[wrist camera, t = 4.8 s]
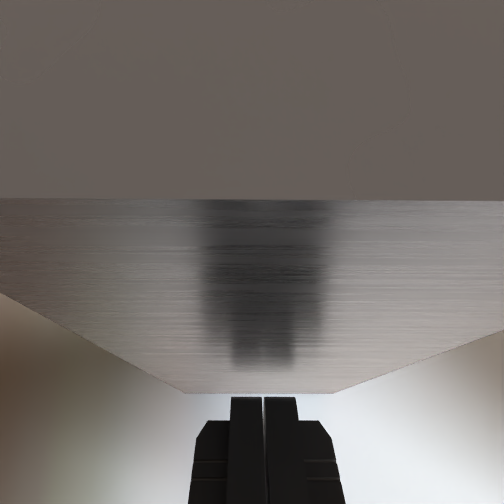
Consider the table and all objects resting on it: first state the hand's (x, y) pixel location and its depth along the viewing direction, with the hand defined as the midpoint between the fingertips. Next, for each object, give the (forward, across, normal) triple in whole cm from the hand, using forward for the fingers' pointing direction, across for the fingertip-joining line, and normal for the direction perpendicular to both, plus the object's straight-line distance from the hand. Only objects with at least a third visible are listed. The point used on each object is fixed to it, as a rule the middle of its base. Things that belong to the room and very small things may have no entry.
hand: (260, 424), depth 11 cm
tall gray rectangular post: (+9, 0, -3) cm, 10 cm away
